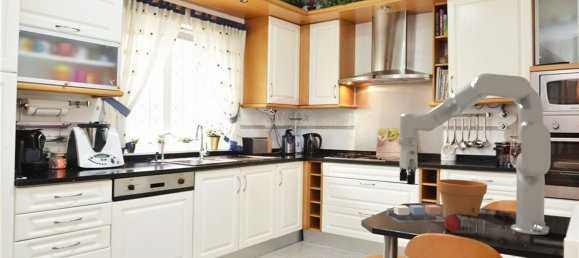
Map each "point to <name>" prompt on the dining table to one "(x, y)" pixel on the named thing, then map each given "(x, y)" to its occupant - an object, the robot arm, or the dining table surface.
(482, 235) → the dining table surface
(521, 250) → the dining table surface
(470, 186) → the flower pot
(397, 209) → the ivory key
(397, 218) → the clear tray
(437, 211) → the pink square block
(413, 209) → the slate key
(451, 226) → the onion
